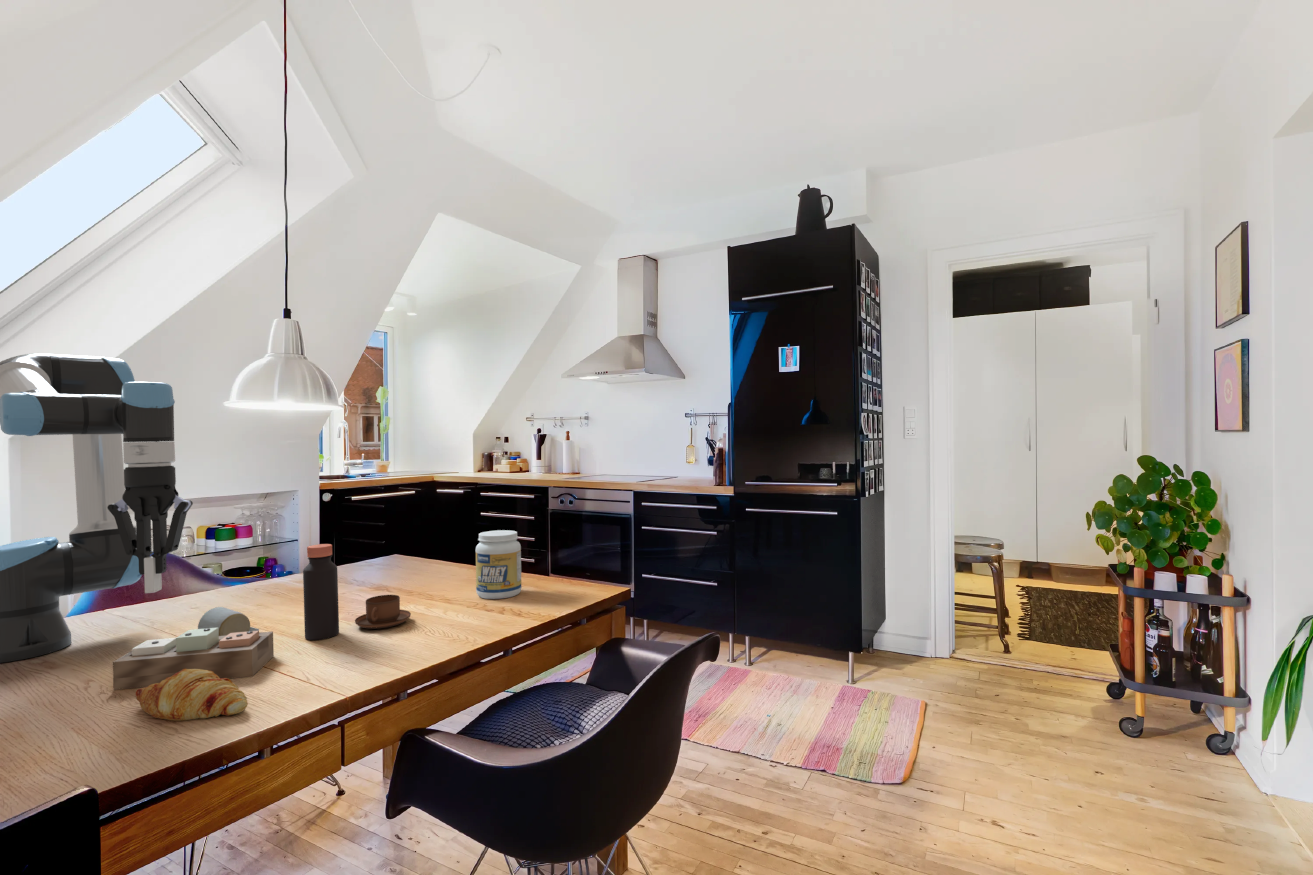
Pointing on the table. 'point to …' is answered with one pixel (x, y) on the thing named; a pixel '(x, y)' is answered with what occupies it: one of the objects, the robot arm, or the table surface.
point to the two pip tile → (197, 639)
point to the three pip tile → (239, 639)
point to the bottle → (320, 594)
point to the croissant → (191, 696)
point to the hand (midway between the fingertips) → (153, 591)
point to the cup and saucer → (382, 612)
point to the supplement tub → (498, 565)
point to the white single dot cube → (154, 646)
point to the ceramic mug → (225, 621)
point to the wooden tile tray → (193, 663)
